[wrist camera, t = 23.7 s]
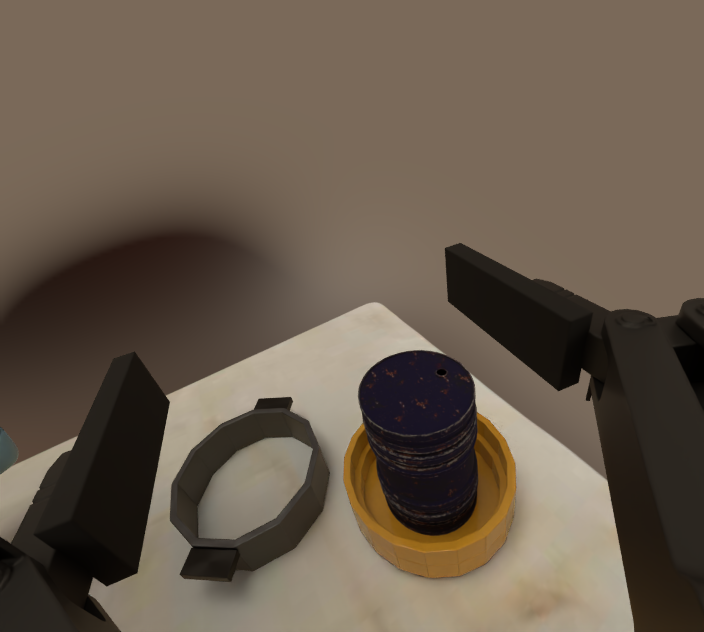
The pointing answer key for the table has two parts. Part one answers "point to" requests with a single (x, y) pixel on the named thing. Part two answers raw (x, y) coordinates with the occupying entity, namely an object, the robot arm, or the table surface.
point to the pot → (269, 539)
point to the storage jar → (423, 438)
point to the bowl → (445, 550)
